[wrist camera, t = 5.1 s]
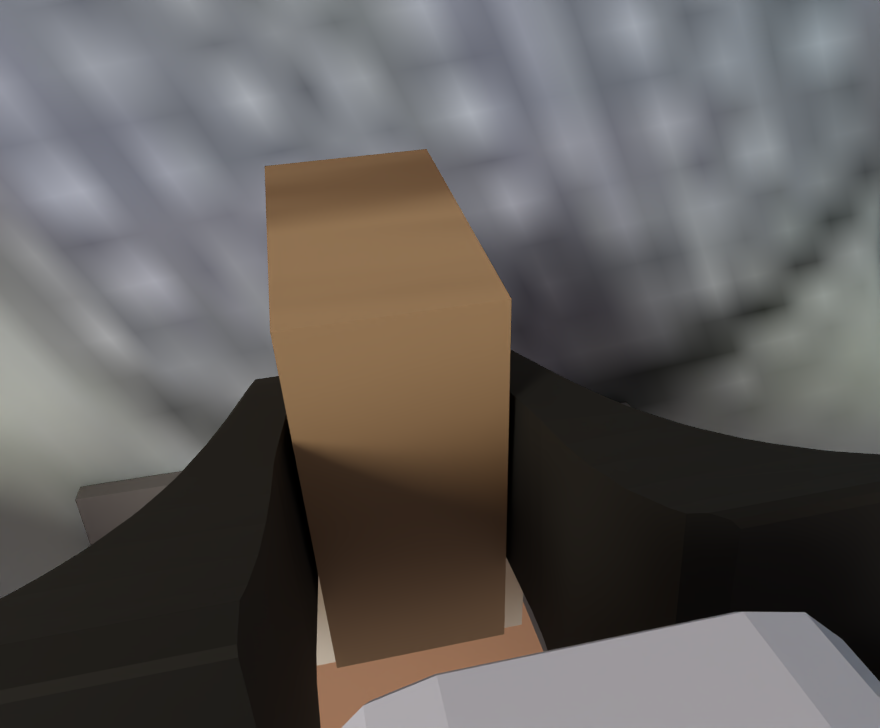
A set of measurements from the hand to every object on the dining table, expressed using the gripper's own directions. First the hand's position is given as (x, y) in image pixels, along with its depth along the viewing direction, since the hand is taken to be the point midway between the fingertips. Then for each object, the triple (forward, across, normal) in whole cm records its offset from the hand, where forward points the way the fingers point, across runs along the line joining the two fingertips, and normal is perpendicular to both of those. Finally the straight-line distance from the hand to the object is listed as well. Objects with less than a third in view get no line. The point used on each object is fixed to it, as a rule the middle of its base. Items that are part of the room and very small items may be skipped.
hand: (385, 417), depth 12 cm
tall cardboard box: (+3, 0, +2) cm, 4 cm away
